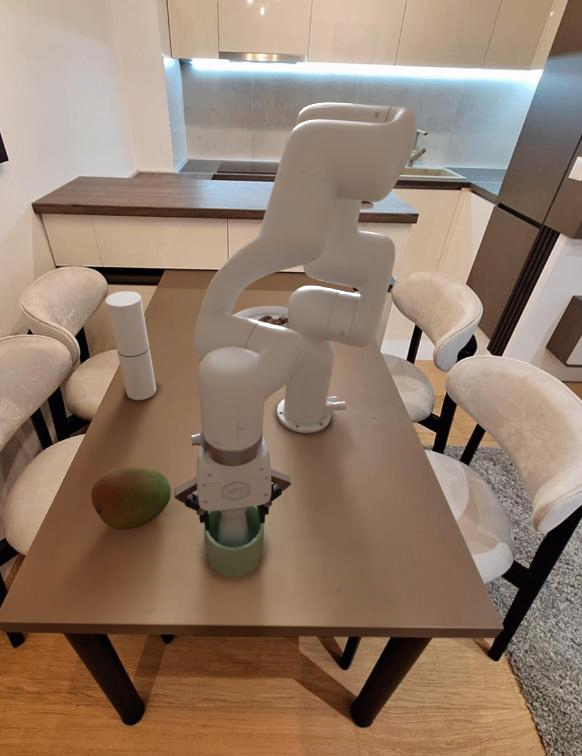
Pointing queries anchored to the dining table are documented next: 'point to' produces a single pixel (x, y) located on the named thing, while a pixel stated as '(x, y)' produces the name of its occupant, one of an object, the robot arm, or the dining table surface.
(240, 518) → the salt shaker
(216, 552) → the cup
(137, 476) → the fruit
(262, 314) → the plated food
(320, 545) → the dining table surface
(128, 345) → the cylindrical container
